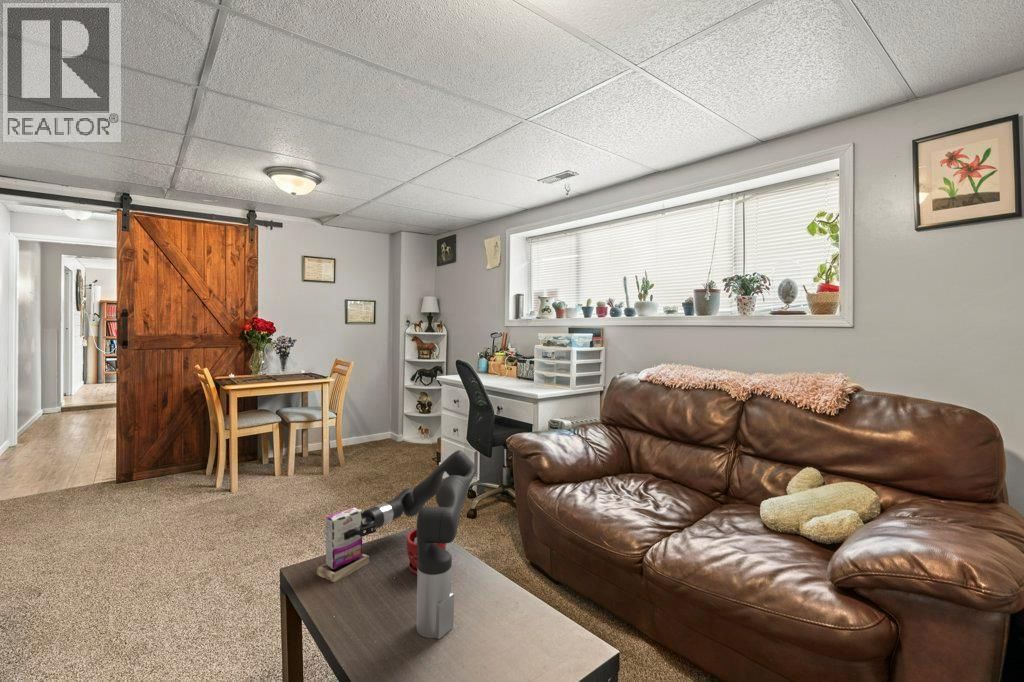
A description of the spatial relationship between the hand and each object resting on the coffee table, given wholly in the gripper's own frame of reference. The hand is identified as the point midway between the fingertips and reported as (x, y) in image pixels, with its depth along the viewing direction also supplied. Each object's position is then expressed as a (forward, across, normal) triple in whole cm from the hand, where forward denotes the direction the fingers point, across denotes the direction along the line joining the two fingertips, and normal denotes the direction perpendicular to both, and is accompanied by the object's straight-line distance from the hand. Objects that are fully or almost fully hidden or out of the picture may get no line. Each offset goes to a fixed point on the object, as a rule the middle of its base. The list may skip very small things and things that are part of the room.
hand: (338, 534), depth 157 cm
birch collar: (-2, 0, -13) cm, 13 cm away
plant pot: (-17, -23, -13) cm, 31 cm away
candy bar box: (-2, 0, -10) cm, 10 cm away
